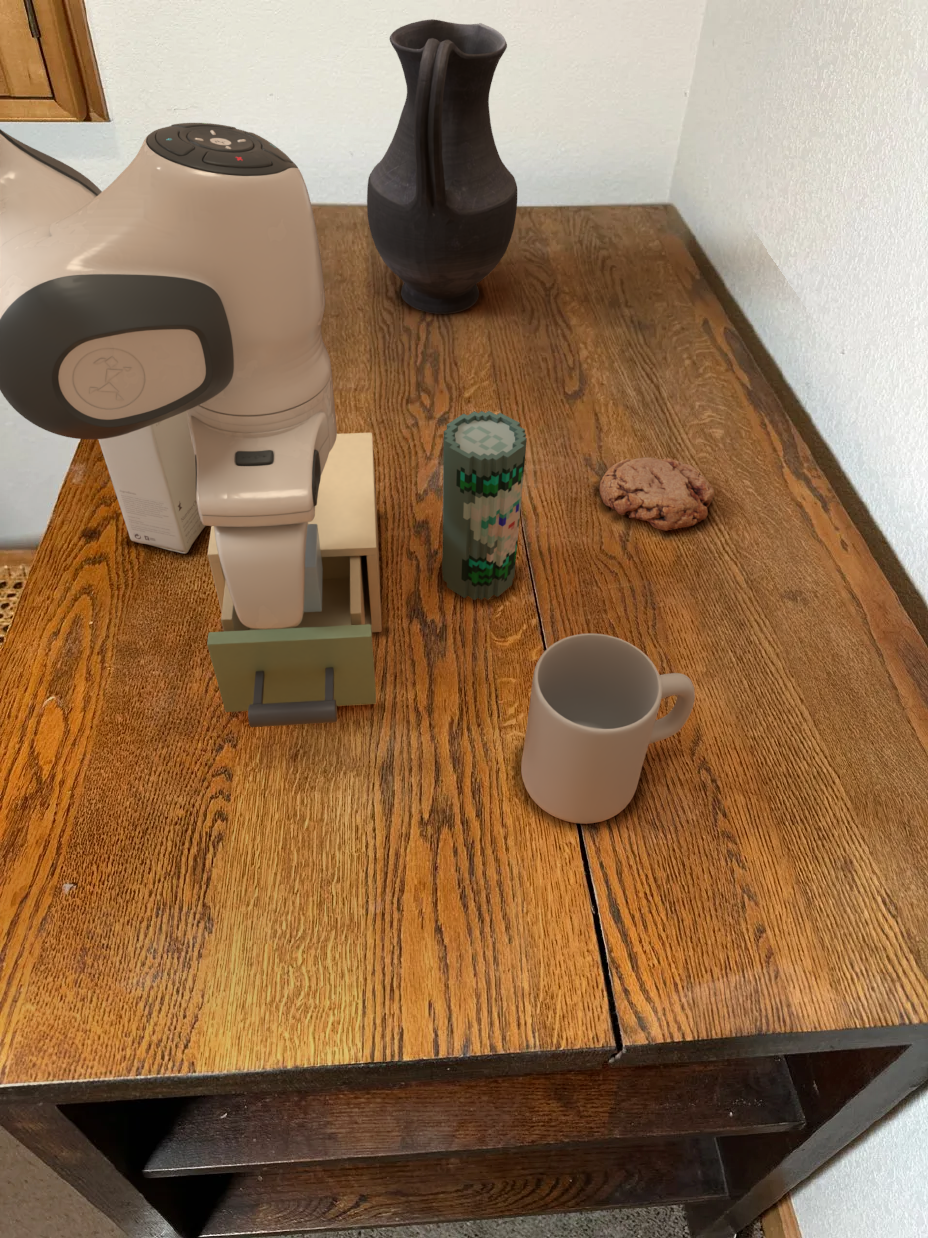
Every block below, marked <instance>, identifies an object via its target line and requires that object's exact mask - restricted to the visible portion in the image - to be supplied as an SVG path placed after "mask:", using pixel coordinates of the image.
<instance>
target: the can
mask: <svg viewBox="0 0 928 1238" xmlns="http://www.w3.org/2000/svg"><path fill="white" fill-rule="evenodd" d="M526 434H527V433H526V429H525V428H523V427H521V423H520V421H517V420H515V419H514V418H511V417H510V416H508V415H506V414H504V413H502V412H498V413H497V414H496V413H494V412H492V411H491V410H487V411H486V412H484V411H483V410H480V412H478V411H472V412H471V413H469V414H466V413H462V414H460V415H459V416H457V417H456V418H454V419H453V420H452V421H450V422H448V423H447V424H446V429H445V430H443V449H442V450H443V454H442V456H443V457H442V458H443V460H442V462H443V463H442V547H441V548H442V549H441V550H442V554H441V555H442V556H441V557H442V559H441V562H442V564H441V566H442V567H441V572H442V582H445V583H446V588H447V589H449V590H451V591H452V592H454V593H455V594H457V595H458V596H460V597H462V598H463V599H466V598H467V597H469V598H470V599H472V600H473V601H476V600H477V599H479V600H480V601H482V600H483V599H486V600H487V601H488V600H489V599H491V598H492V597H493V596H495V597H497V598H498V597H499V596H501V595H502V594H503V593H504V592H505V591H507V590H508V589H509V588H510V587H511V586H512V585H513V581H514V579H515V574H516V564H517V552H518V551H517V550H518V541H519V532H520V531H519V530H520V529H519V528H520V518H521V506H522V495H523V485H524V473H525V465H526V464H525V462H526V453H527V440H528V439H527V437H526V436H527V435H526Z"/></svg>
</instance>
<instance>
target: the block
mask: <svg viewBox="0 0 928 1238" xmlns="http://www.w3.org/2000/svg"><path fill="white" fill-rule="evenodd" d="M322 575H323V568H322V559H321V551H320V542H319V534H318V525H317V524H308V526H307V537H306V552H305V589H304V612H321V611H322Z"/></svg>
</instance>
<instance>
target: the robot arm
mask: <svg viewBox="0 0 928 1238" xmlns="http://www.w3.org/2000/svg"><path fill="white" fill-rule="evenodd" d="M303 176H304V175H303V173H302V171H301V170H300V168H299V166H298V165H297V164H296V163H295V162H294V161H293V160H291V158H290V157H289V156H288V155H287V154H286V153H285V152H283V150H281V149H280V148H279V147H278V146H276V145H275V144H273V143H272V142H271V141H269V140H267V139H266V138H264V137H262V136H260V135H258V134H257V133H254V132H251V131H246V130H244V129H240V128H239V129H238V128H237V127H235V126H230V125H224V124H220V123H219V124H218V123H211V122H210V123H209V122H182V123H180V122H179V123H173V124H171V125H169V126H165V127H160V128H158V129H155V130H153V131H152V132H150V133H149V134H148V135H147V136H146V137H145V138H144V140H143V142H142V144H141V146H140V149H139V150H138V152H137V154H136V155H135V157H134V158H133V160H132V161H131V162H130V163H129V164H128V165H127V167H125V168H124V170H122V172H121V173H120V174H119V175H118V176H117V177H116V178H115V179H114V180H113V181H112V182H111V183H110V184H109V185H108V186H107V187H106V188H105V189H104V190H101V189H100V188H99V187H98V186H97V185H96V184H95V183H94V182H93V181H92V180H90V179H89V178H88V177H87V176H85V175H84V174H83V173H81V172H80V171H78V170H77V169H75V168H73V167H72V166H70V165H69V164H67V163H64V162H62V161H61V160H58V159H57V158H55V157H53V156H50V155H49V154H46V153H45V152H42V151H40V150H38V149H36V148H34V147H32V146H30V145H27V144H26V143H24V142H22V141H20V140H18V139H17V138H15V137H13V136H12V135H9V133H7V132H5V131H4V130H2V129H1V128H0V393H1V395H3V397H4V398H5V400H6V401H7V402H8V404H9V406H11V407H12V408H13V410H15V411H16V412H17V413H18V414H19V415H20V416H22V417H23V418H24V419H26V420H27V421H28V422H29V423H31V424H32V425H34V426H36V427H38V428H40V429H42V430H45V431H47V432H49V433H52V434H55V435H58V436H61V437H66V438H70V439H77V440H92V441H93V440H98V439H106V438H112V437H117V436H121V435H124V434H127V433H130V432H133V431H136V430H139V429H142V428H144V427H147V426H150V425H152V424H155V423H158V422H160V421H163V420H165V419H168V418H170V417H173V416H175V415H178V414H180V413H182V412H185V411H186V412H187V417H188V427H189V431H190V436H191V441H192V445H193V449H194V453H195V466H196V501H197V508H198V512H199V516H200V519H201V522H202V524H203V525H205V527H211V526H214V530H215V538H216V544H217V550H218V554H219V558H220V562H221V566H222V569H223V572H224V576H225V579H226V582H227V586H228V589H229V592H230V595H231V598H232V601H233V604H234V607H235V610H236V613H237V616H238V618H239V620H240V621H241V623H242V624H244V625H245V626H246V627H248V628H252V629H278V628H288V627H294V626H297V625H299V624H300V623H301V621H302V618H303V612H304V589H305V552H306V537H307V526H308V522H311V521H312V520H313V519H314V517H315V506H316V505H317V498H318V490H319V484H320V479H321V474H322V472H323V469H324V467H325V464H326V461H327V458H328V455H329V452H330V451H331V449H332V448H333V446H334V444H335V441H336V437H337V434H338V427H337V416H336V405H335V404H336V403H335V394H334V393H335V392H334V384H333V383H334V382H333V370H332V361H331V356H330V354H329V352H328V349H327V346H326V344H325V342H324V338H323V334H322V323H323V318H324V313H325V311H326V310H325V309H326V291H325V282H324V274H323V273H324V272H323V265H322V257H321V256H322V255H321V250H320V244H319V243H320V242H319V235H318V232H317V226H316V220H315V215H314V210H313V207H312V202H311V199H310V198H311V197H310V194H309V191H308V187H307V184H306V181H305V179H304V177H303Z"/></svg>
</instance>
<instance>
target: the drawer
mask: <svg viewBox="0 0 928 1238" xmlns="http://www.w3.org/2000/svg"><path fill="white" fill-rule="evenodd" d="M321 559H322V568H323V575H322V611H321V612H303V618H302V621H301V623H300V624H299V625H297V626H294V627H288V628H278V629H252V628H248V627H246V626H245V625H244V624H242V623H241V621H240V620H239V618H238V616H237V613H236V610H235V607H234V604H233V601H232V598H231V595H230V592H229V589H228V586H227V582H225V590H224V599H223V607H222V612H221V615H220V622H221V625H222V626H221V627H222V630H223V631H209V632H208V634H207V642H206V646H207V649H208V653H209V657H210V660H211V664H212V668H213V671H214V675H215V678H216V682H217V686H218V690H219V694H220V697H221V702H222V704H223V708H224V712H225V713H236V712H237V713H238V712H247V719H248V720H247V721H248V726H249V727H250V728H266V727H267V728H268V727H283V726H285V727H286V726H300V725H302V726H303V725H319V724H335V723H337V722H338V707H342V706H345V707H346V706H362V705H364V706H365V705H376V704H377V686H376V673H375V658H374V656H375V655H374V645H373V643H374V642H373V632H372V629H371V624H365V590H364V569H363V556H362V555H361V556H338V557H321Z"/></svg>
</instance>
